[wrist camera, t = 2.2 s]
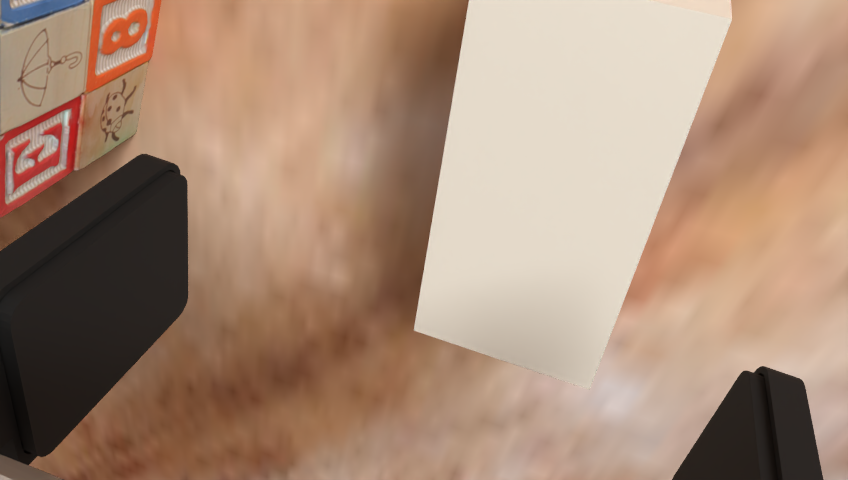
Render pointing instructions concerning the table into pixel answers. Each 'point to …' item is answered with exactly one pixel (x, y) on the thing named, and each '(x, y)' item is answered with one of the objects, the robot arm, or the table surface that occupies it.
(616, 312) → the cream bar block
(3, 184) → the stack of blocks
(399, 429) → the table surface
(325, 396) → the table surface
